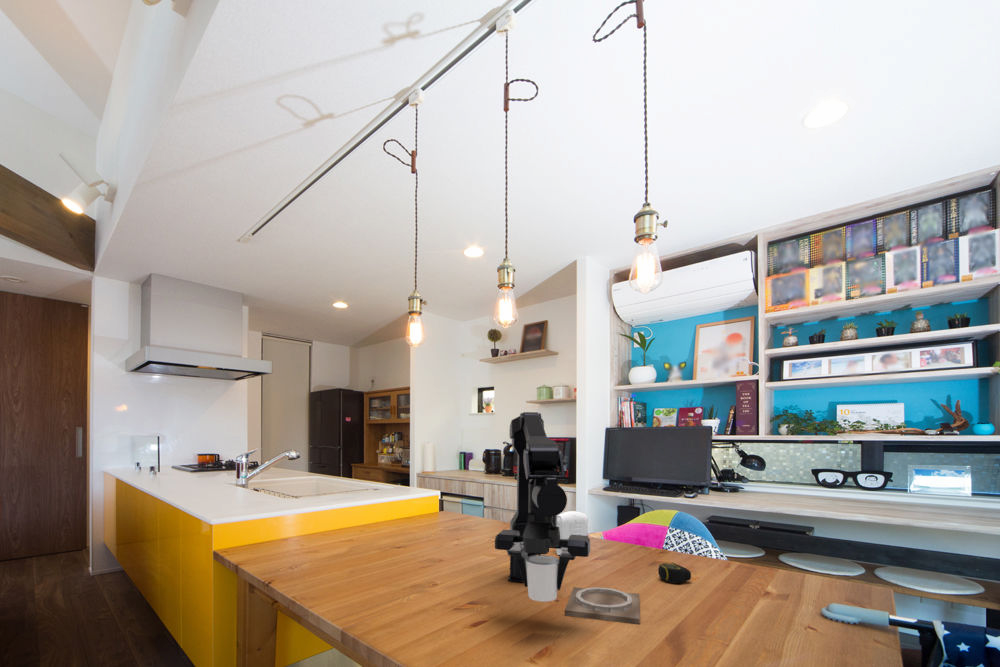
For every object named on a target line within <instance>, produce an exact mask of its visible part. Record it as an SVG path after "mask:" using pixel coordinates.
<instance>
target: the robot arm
mask: <svg viewBox="0 0 1000 667" xmlns="http://www.w3.org/2000/svg"><path fill="white" fill-rule="evenodd" d="M542 417H543V416H542V414H541V413H539V412H538V411H537V412H536V411H535V412H533V411H524V412H521V413H519V416H517V417H515V418H514V419H512V420H511V421H510V424H509V439H510V440H511V445H512V447H513V448H514V451H515V452H516V454H517V462H516V464H517V466H516V467H517V468H516V511H515V513H514V515H513V517H512V518H511V519H510V521H509V522H510V523H509V529H502V530H501V531H499V533H497V535H495V539H494V549H495V550H500V551H501V550H502V551H506V553H507V556H509V577H508V578H507V581H508V582H515V583H517V582H518V583H523V584H524V587H525V588H528V583H527V570H526V558H527V557H529V556H535V555H547V554H548V553H549V552H550V549H555V550H556V549H561V551H562V553H561V555H560V556H559V555H558V556H559V557H558V559H559V571H558V581H557V591H561V588H562V584H563V580H564V578H565V575H566V571H567V568H568V565H569V562H570V561H574V560H575V559H576V557H580V558H581V557H582V558H586V557H587V558H588V557H589V555H590V553H591V539H590V537H589V535H588V536H583V535H570V537H569V539H560V530H559V527H557V516H558V515H559V514H562V513H563V512H564V511H565V509H566V507H567V503H568V497H567V494H566V492H565V490H564V489H563V488H562V487H561V486H560V485H559V480H566V475H567V473H568V472H567V471H568V470H567V466H566V462H565V456H564V454H563V453H562V450H561V449H559V446H558V444H557V443H556V442H555V440H553V439H550V438H548V437H547V434H546V431H545V424H544V423H545V422H544V419H543V418H542Z"/></svg>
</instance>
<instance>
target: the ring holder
mask: <svg viewBox="0 0 1000 667" xmlns="http://www.w3.org/2000/svg"><path fill="white" fill-rule="evenodd" d="M640 611H641V610H640V593H634V592H626V591H622V590H620V589H619V590H618V589H615V588H610V587H609V588H608V587H598V586H596V587H594V586H593V587H586V588H585V587H576V586H575V587H572V591H571V593H570V595H569V598H568V601H567V604H566V607H565V608H564V616H566V617H567V616H568V617H576V618H583V619H592V620H601V621H607V622H608V621H610V622H618V623H626V624H627V623H628V624H634V625H635V624H636V625H640V624H641V622H640V621H641V619H640V618H641V617H640V614H641V613H640Z"/></svg>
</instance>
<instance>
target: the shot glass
mask: <svg viewBox="0 0 1000 667" xmlns="http://www.w3.org/2000/svg"><path fill="white" fill-rule="evenodd" d="M526 570H527V583H528V586H527V591H528V598H529V599H530V600H533V601H536V602H545V603H546V602H552V601H555V600H556V599H557V598H558V596H557V595H558V588H557V581H558V571H559V557H558V558H557V557H555V556H552V555H547V554H541V555H535V556H529V557H527V558H526Z"/></svg>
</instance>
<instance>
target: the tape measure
mask: <svg viewBox="0 0 1000 667" xmlns="http://www.w3.org/2000/svg"><path fill="white" fill-rule="evenodd" d="M657 572H658V575H659V578H660V579H661V580H662V581H665V582H668V583H671V584H672V583H677V584H680V583H684V582H688V581H690V580H691V579H692V573H691V571H690V569H687V568H686V567H684V566H681V565H680V564H677V563H674V562H670V563H668V562H662V563H660V564H659V565H658V570H657Z"/></svg>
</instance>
